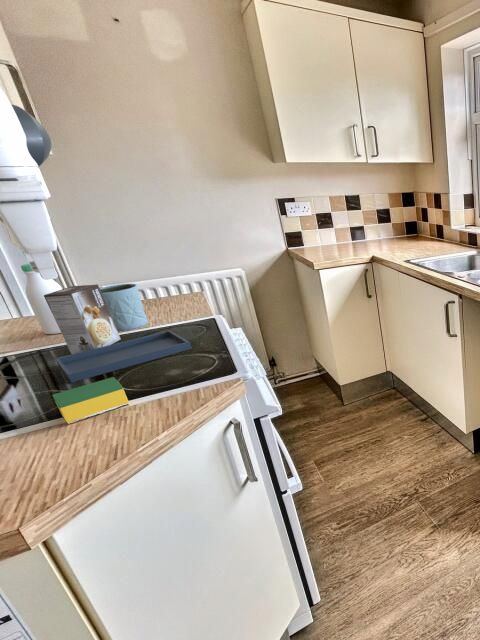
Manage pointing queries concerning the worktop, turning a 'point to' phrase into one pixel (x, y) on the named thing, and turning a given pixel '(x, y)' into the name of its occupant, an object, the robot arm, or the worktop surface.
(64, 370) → the tray
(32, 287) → the milk bottle
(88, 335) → the coffee box
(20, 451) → the worktop surface
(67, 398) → the sponge
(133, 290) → the light blue textured cup
